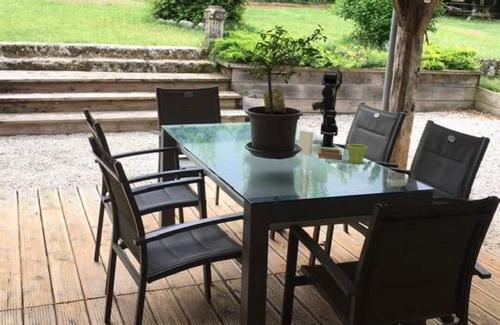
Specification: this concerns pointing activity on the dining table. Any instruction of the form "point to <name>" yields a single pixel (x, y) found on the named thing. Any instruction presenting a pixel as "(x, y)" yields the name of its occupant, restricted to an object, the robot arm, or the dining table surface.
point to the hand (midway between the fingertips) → (326, 127)
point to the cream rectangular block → (306, 141)
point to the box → (330, 154)
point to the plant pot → (356, 153)
